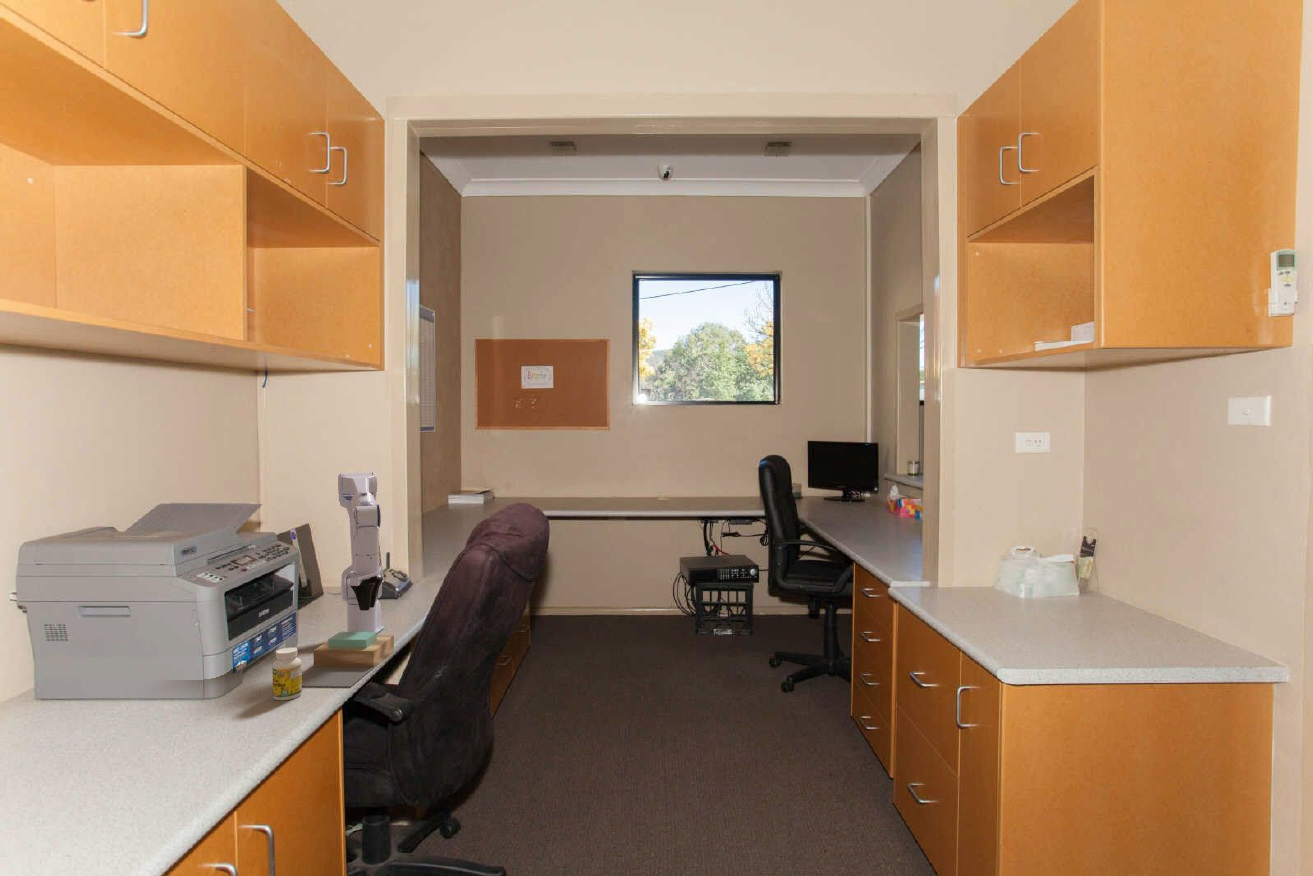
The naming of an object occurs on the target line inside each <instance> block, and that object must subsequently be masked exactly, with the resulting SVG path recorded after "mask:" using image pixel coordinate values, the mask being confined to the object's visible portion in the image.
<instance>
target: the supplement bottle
mask: <svg viewBox="0 0 1313 876" xmlns="http://www.w3.org/2000/svg"><path fill="white" fill-rule="evenodd" d="M297 656H298V648H297V647H284V648H280V649H278V650H276V651H275V658H276V660H275V661H274V662H273V664H272V667H271V669H272V670H271V671H272V673H271V674H272V696H273V697H272V698H273V699H274V700H276V701H289V700H294V699H296V698H298V697H300V696H302V693H303V691H302V690H303V687H302V674H303V673H302V660H301V658H298V657H297Z"/></svg>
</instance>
